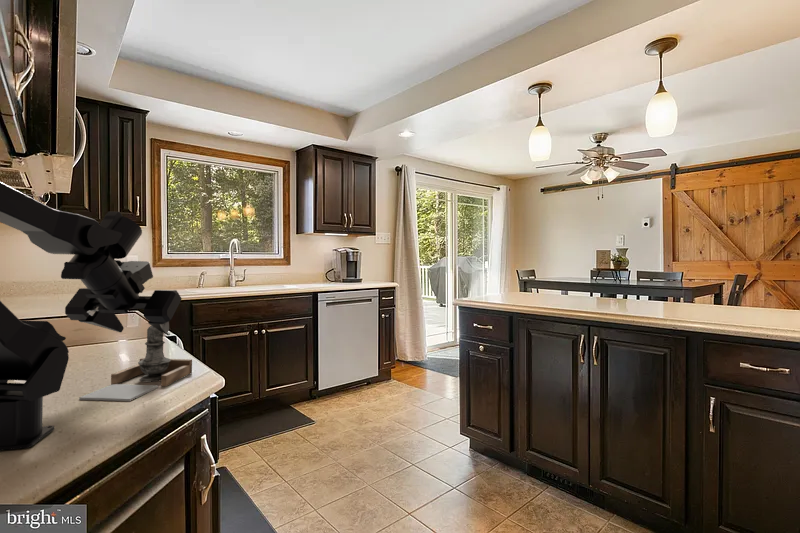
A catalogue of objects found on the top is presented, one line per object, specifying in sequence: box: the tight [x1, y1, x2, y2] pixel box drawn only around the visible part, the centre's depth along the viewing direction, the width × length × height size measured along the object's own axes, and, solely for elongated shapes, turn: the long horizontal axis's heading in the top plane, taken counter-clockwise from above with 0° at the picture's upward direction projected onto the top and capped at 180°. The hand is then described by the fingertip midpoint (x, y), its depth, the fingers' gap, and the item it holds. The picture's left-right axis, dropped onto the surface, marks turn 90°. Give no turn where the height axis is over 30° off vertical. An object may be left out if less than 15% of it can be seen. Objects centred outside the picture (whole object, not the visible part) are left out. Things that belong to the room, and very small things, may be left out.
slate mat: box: [78, 383, 159, 402], centre depth 76 cm, size 8×9×1 cm
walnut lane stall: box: [110, 357, 193, 387], centre depth 86 cm, size 10×11×3 cm
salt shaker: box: [137, 325, 172, 383], centre depth 86 cm, size 6×6×12 cm
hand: (144, 331), depth 82 cm, fingers open, 9 cm apart
